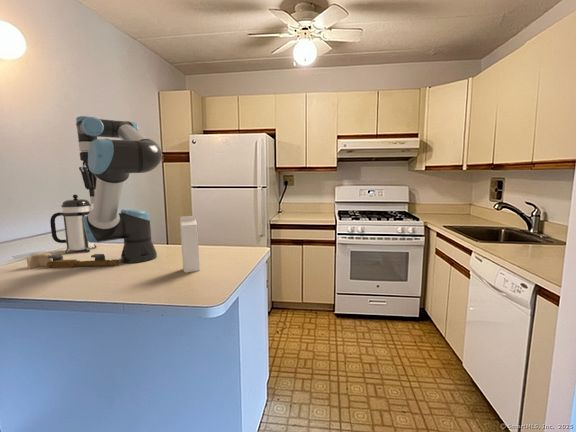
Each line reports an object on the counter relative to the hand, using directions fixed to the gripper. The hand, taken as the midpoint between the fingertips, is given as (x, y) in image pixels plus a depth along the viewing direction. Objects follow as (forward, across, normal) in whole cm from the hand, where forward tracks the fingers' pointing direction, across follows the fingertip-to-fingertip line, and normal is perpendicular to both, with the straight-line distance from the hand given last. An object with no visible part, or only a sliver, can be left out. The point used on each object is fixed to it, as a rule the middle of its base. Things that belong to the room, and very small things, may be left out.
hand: (94, 203), depth 146 cm
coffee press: (+27, -16, -22) cm, 38 cm away
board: (+26, +12, -6) cm, 30 cm away
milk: (+27, +21, +51) cm, 61 cm away
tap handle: (+27, +13, 0) cm, 30 cm away
